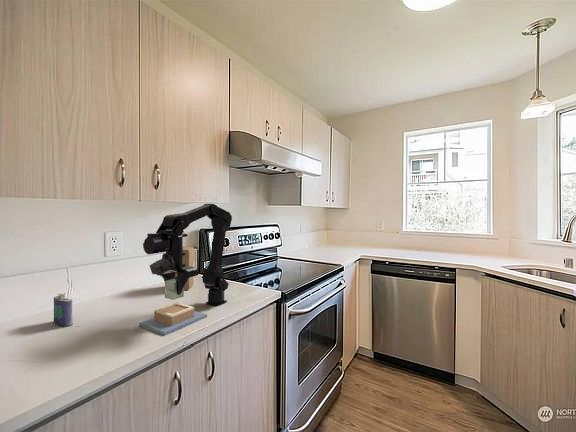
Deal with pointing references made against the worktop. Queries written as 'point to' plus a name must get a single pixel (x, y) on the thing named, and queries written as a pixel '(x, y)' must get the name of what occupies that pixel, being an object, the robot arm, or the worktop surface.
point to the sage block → (172, 290)
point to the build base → (170, 328)
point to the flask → (62, 311)
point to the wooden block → (188, 261)
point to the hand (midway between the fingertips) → (174, 293)
